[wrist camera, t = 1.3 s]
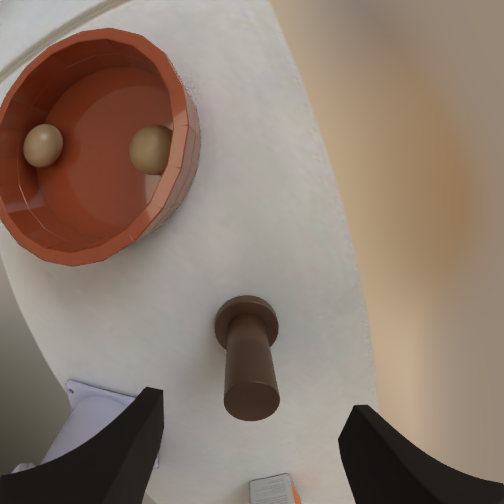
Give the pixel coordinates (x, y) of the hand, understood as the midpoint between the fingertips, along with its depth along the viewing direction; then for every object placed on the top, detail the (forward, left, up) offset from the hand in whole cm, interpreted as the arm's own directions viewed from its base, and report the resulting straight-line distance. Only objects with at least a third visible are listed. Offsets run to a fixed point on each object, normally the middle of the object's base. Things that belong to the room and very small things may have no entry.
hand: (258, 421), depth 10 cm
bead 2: (+9, +7, -8) cm, 14 cm away
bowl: (+9, +11, -10) cm, 17 cm away
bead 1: (+9, +14, -8) cm, 19 cm away
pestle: (-1, 0, -10) cm, 10 cm away
